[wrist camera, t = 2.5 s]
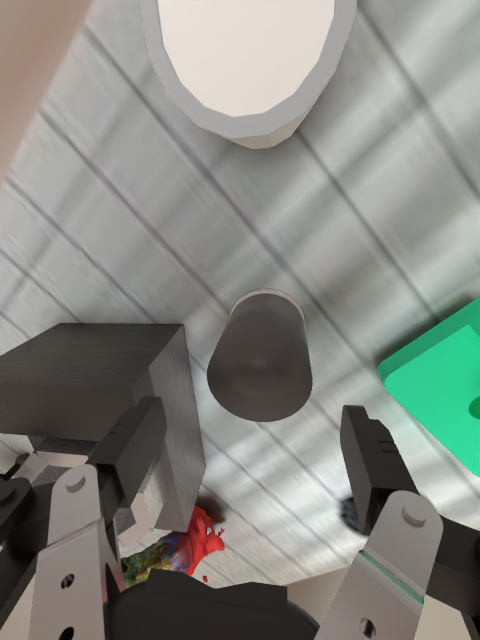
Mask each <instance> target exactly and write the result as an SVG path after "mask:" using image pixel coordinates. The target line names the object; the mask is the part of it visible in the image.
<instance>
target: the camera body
mask: <svg viewBox="0 0 480 640" xmlns="http://www.w3.org/2000/svg"><path fill="white" fill-rule="evenodd" d="M144 396H153V397H161V399H162V402H163V406H164V411H165V416H166V420H167V431H166V435H165V437H164V440H163V442H162V444H161V446H160V448H159V450H158V452H157V454H156V456H155V458H154V460H153V462H152V464H151V466H150V468H149V470H148V472H147V474H146V476H145V478H144V480H143V482H142V484H141V486H140V488H139V490H138V492H137V495H136V497H135V499H134V501H133V503H132V505H131V507H130V509H128V508H118V510H117V512H116V514H115V515H114V517H115V522H116V529H117V537H118V545H119V547H124V546H127V547H128V546H130V545H131V544H133V543H135V542H136V541H138V540H139V539H141V538H142V537H144V536H146V535H147V534H149V533H150V532H152V531H153V529H154V528H157V529H164V530H172V531H179V532H186V533H187V530H188V526H189V523H190V520H191V516H192V513H193V509H194V506H195V503H196V499H197V496H198V492H199V489H200V485H201V482H202V479H203V475H204V472H205V468H206V465H205V458H204V452H203V446H202V439H201V433H200V427H199V420H198V414H197V408H196V402H195V395H194V389H193V383H192V376H191V370H190V364H189V358H188V351H187V345H186V339H185V332H184V326H183V324H87V323H59V324H57V325H55V326H54V327H52V328H50V329H48V330H46V331H45V332H43V333H41V334H39V335H37V336H36V337H34V338H32V339H30V340H28V341H27V342H25V343H23V344H21V345H19V346H18V347H16V348H14V349H12V350H10V351H8V352H7V353H5V354H3V355H1V356H0V433H4V434H16V435H27V436H28V438H29V440H30V442H31V444H32V446H33V448H34V451H33V452H32V453H31V455H30V456H29V457H28V458H27V460H26V461H25V462H24V464H23V465H22V466H21V467H20V469H19V470H18V471H17V473H16V474H15V475H14V476H15V477H16V478H18V477H24V478H27V479H28V480H29V481H30V483H31V485H32V487H34V486H38V485H43V484H48V483H52V482H56V481H57V480H58V479H59V478H60V477H61V476H62V475H63V474H64V473H65V472H67V471H68V470H70V469H72V468H74V467H76V466H79V465H83V464H85V462H86V461H87V460H88V458H89V457H90V456H91V454H92V453H93V452H94V450H95V449H96V448H97V446H98V445H99V444H100V442H101V441H102V440H103V438H104V437H105V436H106V434H108V432H109V430H110V429H111V428H112V426H114V424H115V422H116V421H117V420H118V418H119V417H120V416H121V415H122V414H123V413H124V412H126V411H127V410H128V409H129V408H131V407H136V405H137V404H138V402H139V401H140V400H141V398H142V397H144Z"/></svg>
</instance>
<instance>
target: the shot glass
mask: <svg viewBox="0 0 480 640" xmlns="http://www.w3.org/2000/svg"><path fill="white" fill-rule="evenodd" d="M139 6H140V13H141V19H142V25H143V31H144V38H145V44H146V50H147V55H148V57H149V59H150V61H151V63H152V66H153V68H154V70H155V72H156V74H157V76H158V78H159V80H160V82H161V84H162V86H163V88H164V91H165V93H166V95H167V97H168V98H169V99H170V100H171V101H172V102H173V103H174V104H175V105H176V106H177V107H178V108H179V109H180V110H181V111H182V112H183V113H184V114H185V115H186V116H187V117H188V118H189V119H190V120H191V121H192V122H193V123H194V124H195V125H196V126H198V127H200V128H203V129H205V130H207V131H209V132H212V133H214V134H216V135H219V136H221V137H223V138H225V139H228V140H230V141H232V142H234V143H237V144H240V145H242V146H245V147H248V148H250V149H253V150H254V149H263V148H272V147H274V146H276V145H277V144H279V143H281V142H282V141H284V140H286V139H287V138H289V137H290V136H291V135H292V134H293V133H294V131H295V130H296V129H297V128H298V126H299V125H300V124H301V122H302V121H303V120H304V119H305V117H306V116H307V114H308V113H309V111H310V110H311V108H312V107H313V105H314V104H315V102H316V100H317V99H318V97H319V96H320V94H321V93H322V91H323V90H324V88H325V87H326V85H327V84H328V82H329V81H330V79H331V78H332V76H333V75H334V73H335V71H336V69H337V66H338V63H339V61H340V58H341V55H342V52H343V50H344V47H345V44H346V42H347V39H348V36H349V34H350V31H351V28H352V26H353V23H354V20H355V18H356V6H357V0H139Z"/></svg>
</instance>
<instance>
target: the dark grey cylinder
mask: <svg viewBox="0 0 480 640" xmlns="http://www.w3.org/2000/svg"><path fill="white" fill-rule="evenodd" d="M305 332H306V324H305V318H304V314H303V311H302V309H301V307H300V306H299V304H298V303H297V302H296V301H295V300H294V299H293V298H292V297H291V296H289V295H288V294H286V293H284V292H282V291H279V290H276V289H268V288H264V289H257V290H254V291H251V292H249V293H247V294H245V295H244V296H242V297H241V298H240V299H239V300H238V301H237V302H236V303H235V305H234V307H233V309H232V311H231V313H230V315H229V319H228V323H227V325H226V327H225V329H224V331H223V333H222V336H221V338H220V340H219V342H218V344H217V346H216V349H215V351H214V353H213V355H212V357H211V360H210V362H209V365H208V369H207V381H208V385H209V388H210V391H211V393H212V394H213V396H214V398H215V399H216V400H217V401H218V403H219V404H220V405H221V406H222V407H224V408H225V409H226V410H227V411H229V412H230V413H232V414H234V415H236V416H238V417H240V418H243V419H246V420H250V421H256V422H272V421H277V420H281V419H284V418H287V417H289V416H291V415H293V414H294V413H296V412H297V411H298V410H300V409H301V408H302V407H303V406H304V404H305V403H306V402H307V400H308V398H309V396H310V393H311V390H312V373H311V366H310V360H309V353H308V347H307V340H306V334H305Z"/></svg>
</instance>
